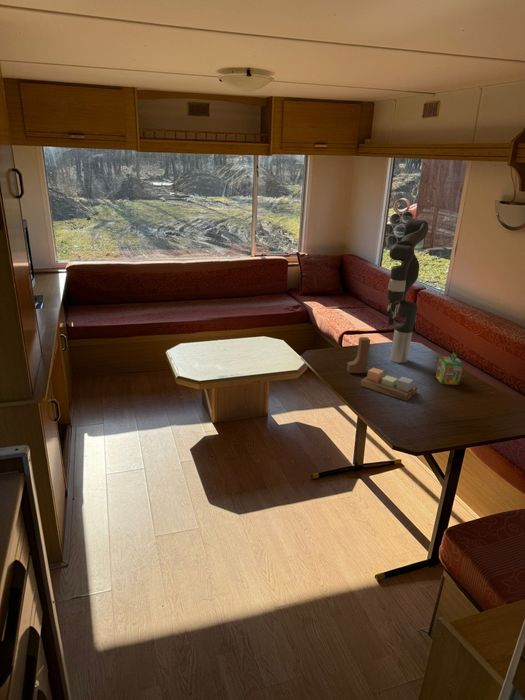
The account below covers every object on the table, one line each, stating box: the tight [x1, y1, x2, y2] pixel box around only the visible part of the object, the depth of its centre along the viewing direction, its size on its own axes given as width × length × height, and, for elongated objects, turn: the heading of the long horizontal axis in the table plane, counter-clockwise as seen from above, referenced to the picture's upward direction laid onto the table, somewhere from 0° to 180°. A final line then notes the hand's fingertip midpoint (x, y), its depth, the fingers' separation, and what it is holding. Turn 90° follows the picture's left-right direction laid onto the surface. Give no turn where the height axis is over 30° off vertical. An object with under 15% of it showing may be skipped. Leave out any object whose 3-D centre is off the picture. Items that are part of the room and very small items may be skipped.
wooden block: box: [346, 336, 371, 374], centre depth 251 cm, size 9×4×18 cm, turn 97°
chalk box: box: [434, 352, 464, 386], centre depth 246 cm, size 9×9×15 cm
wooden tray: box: [360, 375, 418, 402], centre depth 235 cm, size 12×23×3 cm, turn 52°
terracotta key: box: [366, 367, 384, 383], centre depth 238 cm, size 6×6×5 cm
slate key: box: [396, 376, 414, 392], centre depth 230 cm, size 6×6×5 cm
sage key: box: [381, 375, 399, 387], centre depth 235 cm, size 6×6×5 cm
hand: (390, 324), depth 235 cm, fingers closed
